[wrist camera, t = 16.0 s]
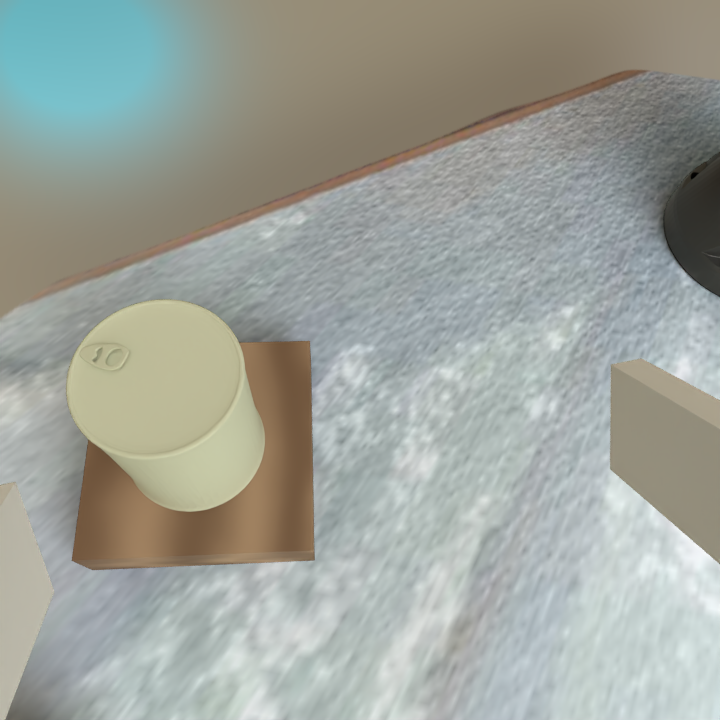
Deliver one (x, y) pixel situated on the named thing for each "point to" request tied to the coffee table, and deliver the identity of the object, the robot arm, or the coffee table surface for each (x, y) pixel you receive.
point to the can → (169, 402)
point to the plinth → (231, 519)
